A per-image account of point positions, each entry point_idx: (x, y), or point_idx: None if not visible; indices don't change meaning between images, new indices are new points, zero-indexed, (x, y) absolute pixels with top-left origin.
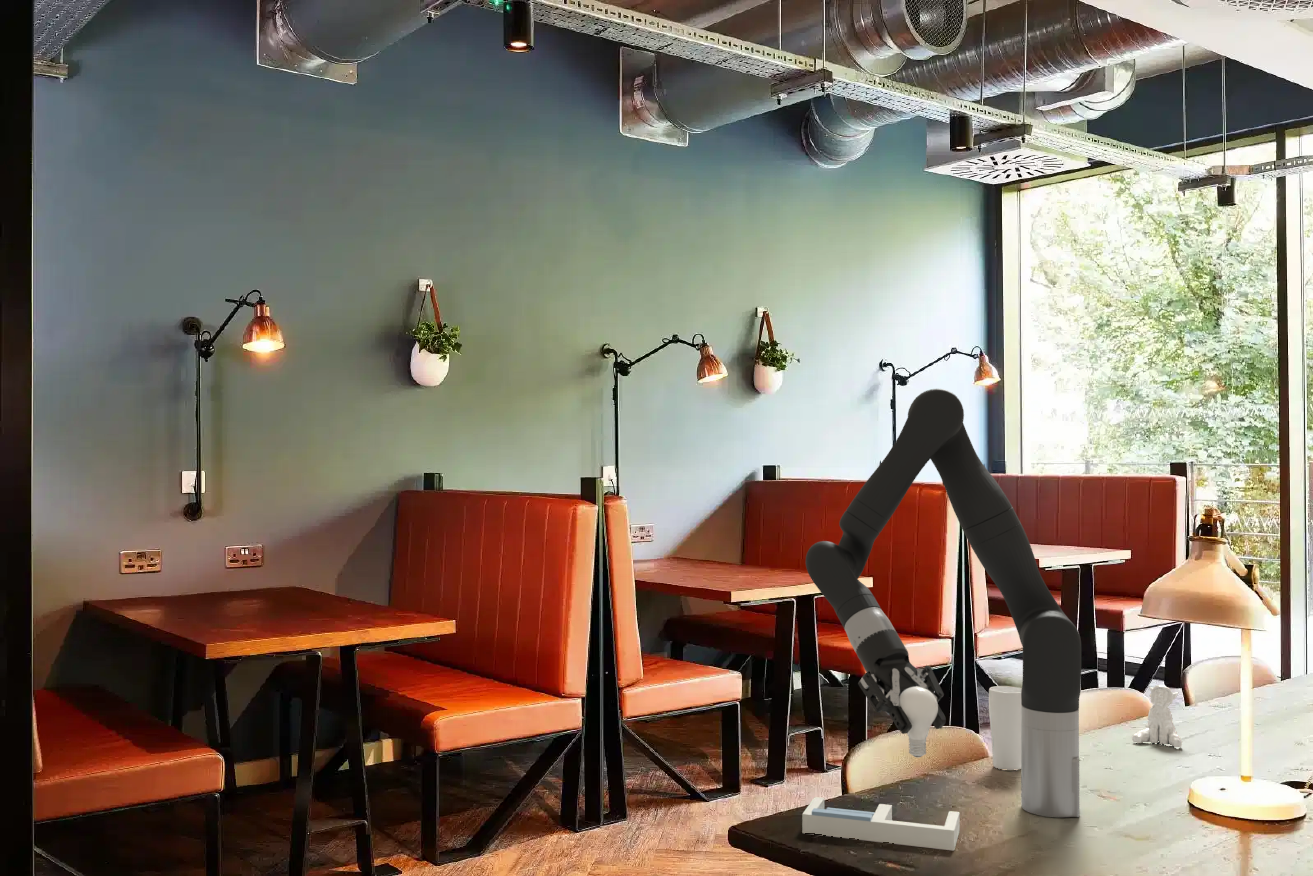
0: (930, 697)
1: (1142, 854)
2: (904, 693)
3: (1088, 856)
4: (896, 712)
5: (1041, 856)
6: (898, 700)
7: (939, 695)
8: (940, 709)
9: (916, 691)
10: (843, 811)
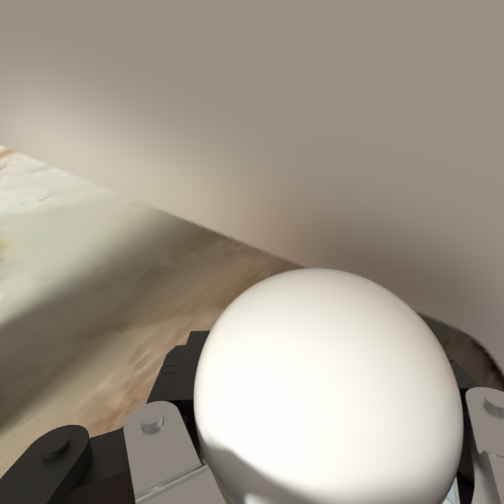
0: (294, 272)
1: (61, 207)
2: (454, 397)
3: (123, 226)
4: (469, 380)
5: (176, 249)
6: (474, 419)
7: (86, 432)
8: (158, 382)
9: (387, 310)
10: (450, 498)
